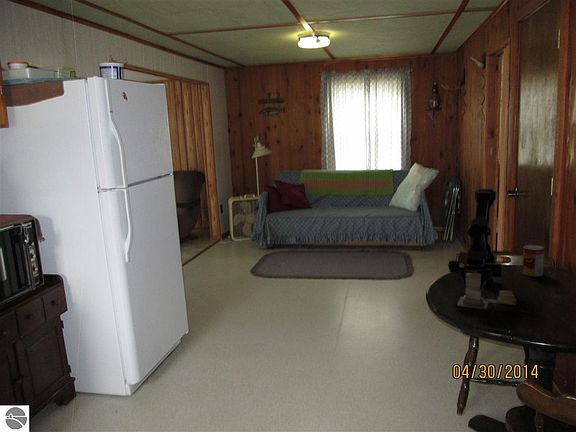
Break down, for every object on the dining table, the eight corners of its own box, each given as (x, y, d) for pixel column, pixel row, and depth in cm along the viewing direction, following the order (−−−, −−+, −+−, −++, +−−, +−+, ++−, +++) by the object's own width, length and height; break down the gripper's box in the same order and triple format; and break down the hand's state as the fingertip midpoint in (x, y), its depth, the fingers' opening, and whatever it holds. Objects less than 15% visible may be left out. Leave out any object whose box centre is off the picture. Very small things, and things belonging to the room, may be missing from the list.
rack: (462, 294, 185) (462, 288, 184) (516, 300, 176) (516, 294, 175) (456, 307, 172) (457, 301, 172) (514, 314, 163) (514, 307, 163)
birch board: (466, 300, 176) (467, 272, 174) (480, 302, 174) (481, 273, 172) (465, 303, 174) (465, 275, 172) (479, 304, 172) (480, 276, 170)
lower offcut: (499, 297, 178) (499, 293, 178) (514, 298, 175) (514, 295, 175) (498, 302, 173) (498, 298, 172) (513, 304, 170) (513, 300, 170)
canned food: (529, 269, 211) (530, 244, 208) (546, 273, 204) (547, 247, 202) (518, 273, 207) (519, 247, 204) (536, 277, 200) (537, 250, 198)
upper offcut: (499, 294, 177) (499, 290, 177) (512, 294, 176) (512, 291, 175) (500, 299, 172) (501, 295, 172) (514, 299, 171) (514, 295, 170)
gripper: (449, 239, 178) (444, 275, 170) (503, 242, 169) (499, 281, 161) (452, 254, 186) (447, 289, 178) (503, 258, 177) (500, 295, 170)
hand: (472, 288), depth 172 cm, fingers closed on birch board, 5 cm apart
